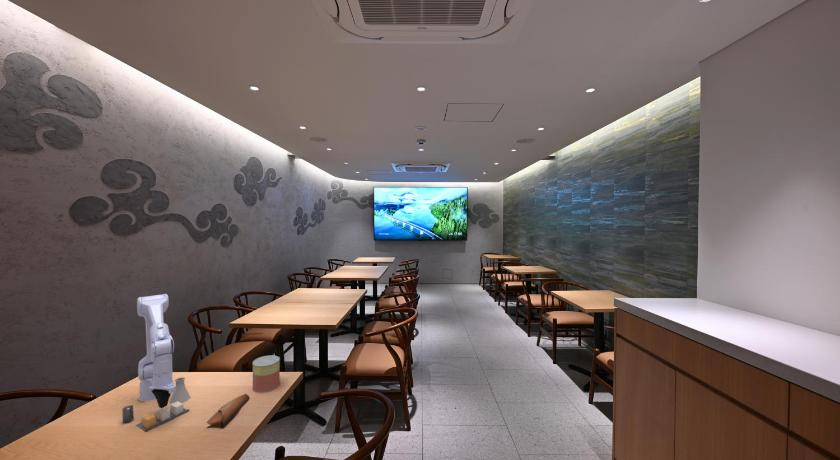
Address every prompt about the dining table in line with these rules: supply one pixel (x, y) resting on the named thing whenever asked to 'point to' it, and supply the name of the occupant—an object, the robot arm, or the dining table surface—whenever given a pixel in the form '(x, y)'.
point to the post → (128, 414)
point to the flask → (180, 392)
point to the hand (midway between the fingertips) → (163, 406)
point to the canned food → (266, 373)
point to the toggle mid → (163, 414)
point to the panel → (159, 422)
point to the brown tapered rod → (227, 412)
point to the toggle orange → (148, 420)
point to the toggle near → (176, 408)
